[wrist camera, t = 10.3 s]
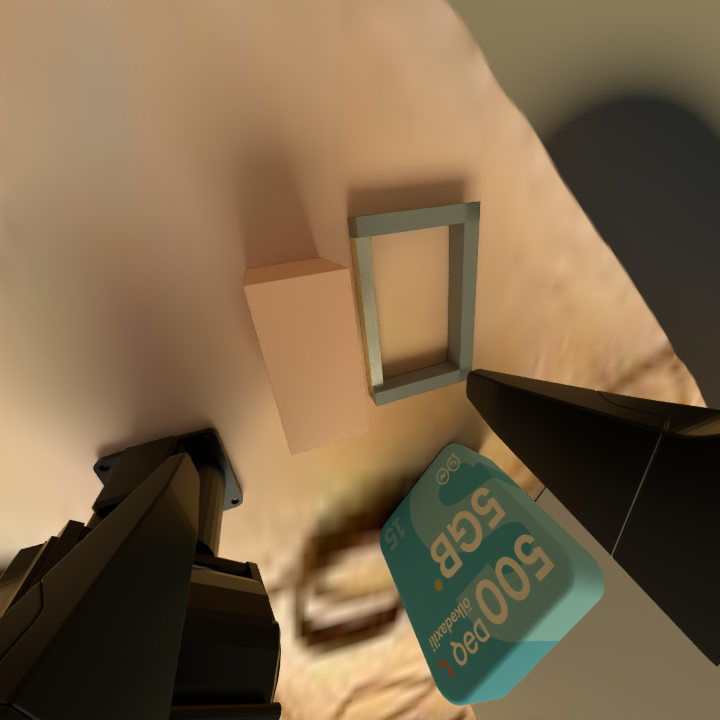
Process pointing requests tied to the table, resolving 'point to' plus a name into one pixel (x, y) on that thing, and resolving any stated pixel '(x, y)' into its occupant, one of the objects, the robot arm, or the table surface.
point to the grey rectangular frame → (460, 296)
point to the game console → (613, 658)
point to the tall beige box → (310, 349)
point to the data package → (484, 575)
